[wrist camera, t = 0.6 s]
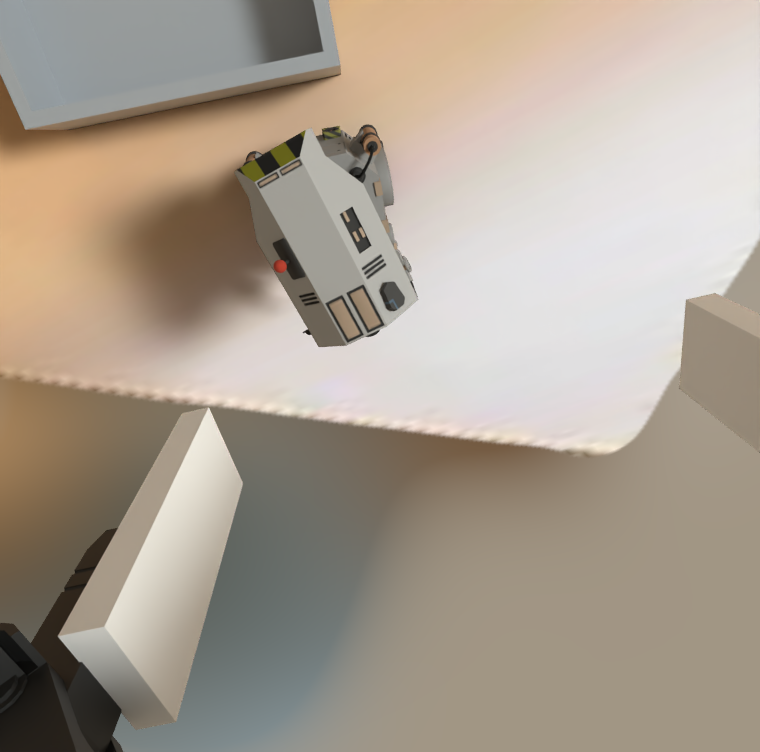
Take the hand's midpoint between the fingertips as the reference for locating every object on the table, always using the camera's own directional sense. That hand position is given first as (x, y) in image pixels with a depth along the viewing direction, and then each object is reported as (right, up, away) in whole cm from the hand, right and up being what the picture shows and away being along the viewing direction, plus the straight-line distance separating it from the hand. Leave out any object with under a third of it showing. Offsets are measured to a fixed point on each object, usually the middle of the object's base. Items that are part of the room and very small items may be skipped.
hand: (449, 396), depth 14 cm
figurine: (-5, +13, +23) cm, 27 cm away
